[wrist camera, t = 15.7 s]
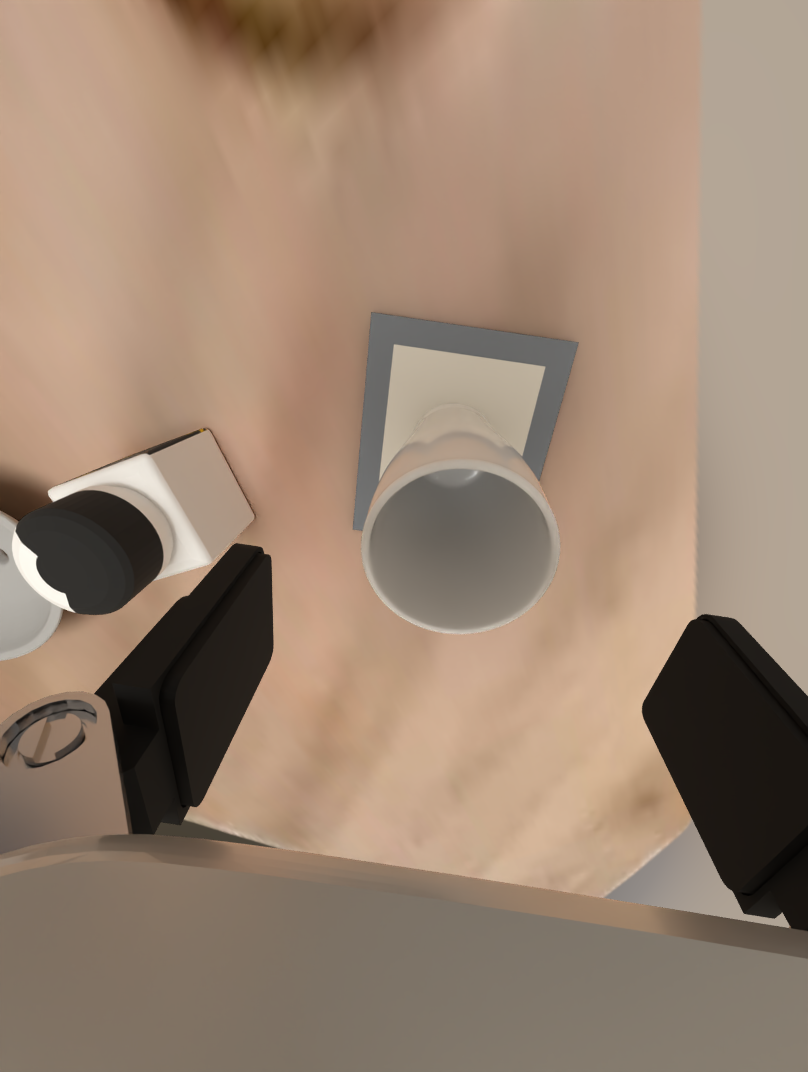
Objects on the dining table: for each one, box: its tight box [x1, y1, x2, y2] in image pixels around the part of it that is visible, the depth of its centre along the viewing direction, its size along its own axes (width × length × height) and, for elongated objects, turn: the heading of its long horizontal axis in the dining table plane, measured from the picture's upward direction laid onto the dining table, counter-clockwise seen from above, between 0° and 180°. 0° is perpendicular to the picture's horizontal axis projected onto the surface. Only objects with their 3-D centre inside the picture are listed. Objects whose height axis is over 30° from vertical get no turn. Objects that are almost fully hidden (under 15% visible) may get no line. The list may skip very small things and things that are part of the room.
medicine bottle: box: [12, 428, 255, 615], centre depth 26 cm, size 7×7×12 cm
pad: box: [353, 312, 579, 531], centre depth 28 cm, size 14×12×1 cm
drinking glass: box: [361, 403, 560, 634], centre depth 21 cm, size 7×7×15 cm
